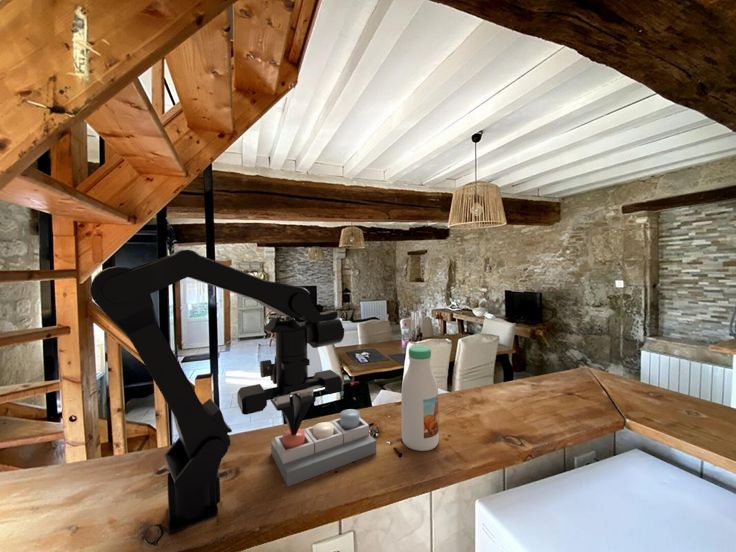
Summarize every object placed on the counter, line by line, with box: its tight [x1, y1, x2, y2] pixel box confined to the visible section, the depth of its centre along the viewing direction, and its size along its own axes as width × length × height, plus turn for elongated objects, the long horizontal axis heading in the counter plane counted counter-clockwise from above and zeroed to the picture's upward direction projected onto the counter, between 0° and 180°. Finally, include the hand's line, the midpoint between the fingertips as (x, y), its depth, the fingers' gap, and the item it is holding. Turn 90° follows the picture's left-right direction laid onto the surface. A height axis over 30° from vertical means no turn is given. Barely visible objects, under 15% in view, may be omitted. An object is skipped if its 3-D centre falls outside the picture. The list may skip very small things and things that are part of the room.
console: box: [270, 417, 377, 487], centre depth 63 cm, size 18×11×4 cm, turn 121°
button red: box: [282, 427, 305, 450], centre depth 60 cm, size 4×4×2 cm
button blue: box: [339, 408, 361, 430], centre depth 66 cm, size 4×4×2 cm
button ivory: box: [313, 421, 334, 440], centre depth 63 cm, size 4×4×2 cm
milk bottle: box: [401, 345, 440, 452], centre depth 66 cm, size 8×8×20 cm
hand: (293, 433), depth 60 cm, fingers closed, pressing on button red
